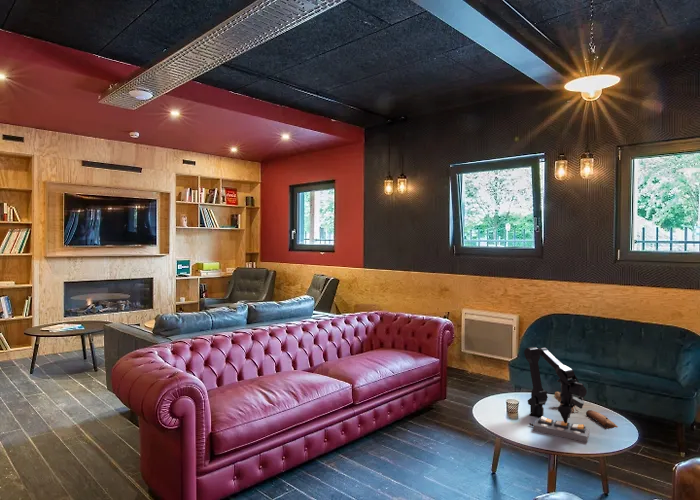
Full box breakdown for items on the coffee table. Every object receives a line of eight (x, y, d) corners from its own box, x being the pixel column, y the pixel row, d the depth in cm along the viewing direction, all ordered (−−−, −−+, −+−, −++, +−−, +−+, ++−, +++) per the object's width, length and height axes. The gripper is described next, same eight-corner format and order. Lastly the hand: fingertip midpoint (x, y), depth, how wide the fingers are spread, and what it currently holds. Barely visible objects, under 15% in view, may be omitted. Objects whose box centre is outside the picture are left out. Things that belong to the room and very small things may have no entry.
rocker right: (572, 429, 238) (572, 426, 238) (573, 426, 241) (573, 424, 242) (583, 429, 235) (582, 427, 236) (584, 427, 239) (583, 424, 239)
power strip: (527, 429, 246) (527, 421, 246) (531, 422, 254) (531, 415, 254) (587, 442, 230) (587, 434, 230) (589, 435, 238) (589, 427, 238)
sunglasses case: (620, 427, 247) (614, 417, 247) (609, 434, 247) (603, 424, 246) (599, 414, 265) (593, 405, 264) (589, 420, 265) (583, 411, 264)
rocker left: (540, 420, 247) (540, 418, 247) (541, 418, 250) (542, 416, 250) (550, 424, 244) (550, 422, 244) (551, 422, 248) (551, 419, 247)
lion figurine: (552, 406, 278) (552, 391, 278) (556, 404, 282) (556, 390, 281) (576, 413, 267) (576, 398, 266) (580, 411, 270) (580, 396, 270)
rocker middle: (556, 425, 243) (555, 423, 243) (557, 423, 246) (556, 420, 246) (566, 426, 240) (566, 423, 240) (567, 423, 243) (567, 421, 243)
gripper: (580, 399, 233) (581, 429, 233) (585, 389, 248) (585, 417, 248) (557, 395, 239) (558, 425, 239) (563, 386, 254) (563, 413, 255)
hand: (567, 420), depth 245 cm, fingers open, 8 cm apart
